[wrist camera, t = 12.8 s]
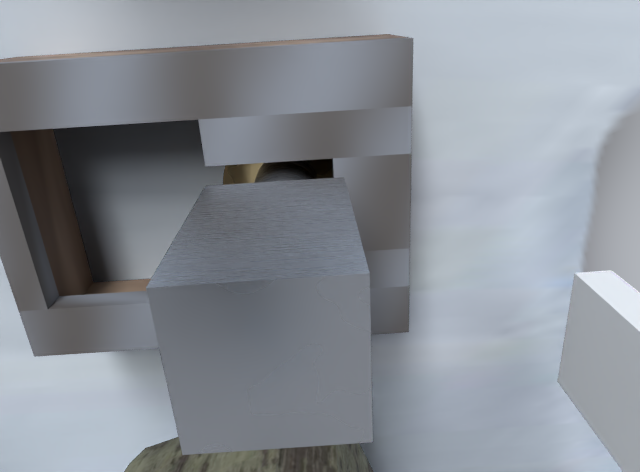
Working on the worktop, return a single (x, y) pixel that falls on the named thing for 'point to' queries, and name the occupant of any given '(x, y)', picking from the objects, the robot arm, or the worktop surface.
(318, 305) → the headed peg
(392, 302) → the keyhole block
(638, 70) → the worktop surface
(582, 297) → the robot arm
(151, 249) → the worktop surface
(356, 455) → the tabletop clock
